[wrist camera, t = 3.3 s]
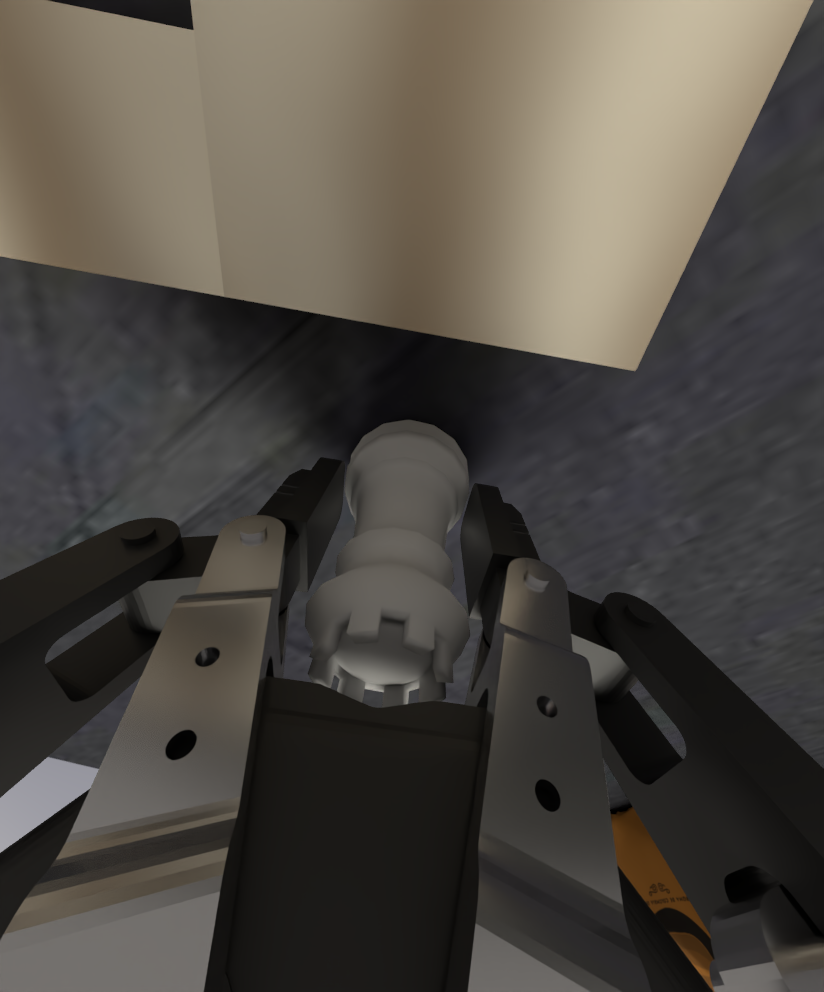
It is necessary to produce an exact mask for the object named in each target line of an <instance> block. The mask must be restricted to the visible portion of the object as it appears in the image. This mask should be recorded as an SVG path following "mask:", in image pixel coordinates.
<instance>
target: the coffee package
mask: <svg viewBox="0 0 824 992" xmlns="http://www.w3.org/2000/svg"><path fill="white" fill-rule="evenodd" d="M611 821H612V829H613V836H614V844H615V851H616V858H617V865H618V866H619V868H620V869H621V870H622V872H623V873H624V874H625V876H626V877H627V878H628V879H629V881H630V882H631V883H632V885H633V886H634V887H635V889H636V890H637V891H638V893H639V894H640V895H641V897H642V898H643V899H644V901H645V902H646V903H647V905H648V906H649V907H650V909H651V910H652V911H653V913H654V914H655V915H656V916H657V918H658V919H659V920H660V922H661V923H662V924H663V926H664V927H665V928H666V930H667V931H668V932H669V934H670V935H671V936H672V938H673V939H674V940H675V942H676V943H677V944H678V946H679V947H680V948H681V950H682V951H683V952H684V954H685V955H686V956H687V957H688V959H689V960H690V961H691V963H692V964H693V965H694V967H695V968H696V969H697V971H698V972H699V973H700V975H701V976H702V977H703V979H704V980H705V981H706V983H707V984H708V985H709V987H710V988H711V989H712V991H713V992H715V991H714V989H713V986H712V983H711V979H710V972H709V968H710V963H711V962H712V960H714V959H715V958H714V954H713V950H712V945H711V937H710V934H709V932H708V931H707V929H706V927H705V926H704V924H703V922H702V921H701V919H700V917H699V916H698V914H697V912H696V911H695V909H694V907H693V906H692V904H691V903H690V901H689V899H688V898H687V896H686V894H685V893H684V891H683V889H682V888H681V886H680V884H679V883H678V881H677V879H676V878H675V876H674V874H673V873H672V871H671V869H670V868H669V866H668V864H667V863H666V861H665V859H664V858H663V856H662V854H661V853H660V851H659V850H658V848H657V846H656V845H655V843H654V841H653V840H652V838H651V836H650V835H649V833H648V831H647V830H646V828H645V826H644V825H643V823H642V821H641V820H640V818H639V816H638V815H637V813H636V811H635V810H634V808H633V806H632V807H631V808H629V809H628V810H627V811H622V812H619V811H617V812H616V814H611Z"/></svg>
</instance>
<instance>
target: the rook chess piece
mask: <svg viewBox="0 0 824 992" xmlns="http://www.w3.org/2000/svg"><path fill="white" fill-rule="evenodd" d="M468 483H469V476H468V467H467V459H466V458H465V456H464V454H463V453H462V451H461V449H460V448H459V446H458V444H457V443H456V441H455V440H454V439H453V438H452V437H450V436H449V435H447V434H446V433H445V432H443V431H442V430H440V429H439V428H437V427H436V426H435V425H431V424H427V423H422V422H418V421H414V420H402V421H396V422H390V423H384V424H382V425H381V426H379V427H377V428H376V429H374V430H373V431H371V432H369V433H368V434H366V435H365V436H363V438H362V439H361V441H360V442H359V444H358V445H357V447H356V448H355V450H354V451H353V453H352V454H351V459H350V463H349V465H348V466H347V473H346V481H345V495H346V498H347V501H348V504H349V507H350V510H351V513H352V514H353V516H354V519H355V522H356V524H355V533H354V537H353V539H351V540H349V541H348V543H347V544H346V545H345V547H344V548H343V549H342V551H341V552H340V553H339V555H338V557H337V564H336V572H335V573H336V576H337V577H336V578H334V579H332V580H330V581H328V582H326V583H323V584H322V585H321V586H320V587H319V588H318V590H317V591H316V592H315V594H314V595H313V596H312V597H311V599H310V600H309V601H308V603H307V604H306V618H305V627H306V629H307V631H308V633H309V636H310V638H311V640H312V642H313V648H312V651H311V654H310V656H309V657H312V658H313V660H312V663H311V666H310V669H309V672H308V675H309V677H310V678H311V680H312V682H313V683H317V684H321V685H324V686H326V687H328V688H329V687H331V684H332V681H333V677H334V674H335V675H336V676H337V677H338V678H339V679H340V681H339V685H338V689H337V692H339V693H341V694H344V695H346V696H348V697H350V698H352V699H355V700H357V701H359V702H361V703H362V700H363V695H364V689H369V690H374V691H380V692H384V694H383V702H382V708H383V707H390V706H397V705H405V704H408V696H409V691H411V690H414V689H418V688H419V702H427V701H442V700H444V699H445V698H446V688H445V682H447V683H453V666H452V664H453V663H454V662H455V661H456V660H457V659H458V657H459V656H460V655H461V653H462V651H463V649H464V647H465V645H466V643H467V641H468V639H469V637H470V630H469V623H468V616H467V612H466V611H465V610H464V608H463V607H462V606H461V604H460V603H459V602H458V601H457V599H456V598H455V597H454V596H453V594H452V593H451V592H450V589H451V586H452V584H453V581H454V574H453V568H452V561H451V560H450V559H449V557H448V556H447V555H446V553H445V552H444V549H445V543H446V537H447V533H448V532H449V530H450V529H451V528H452V527H453V525H454V524H455V523H456V522H457V521H458V520H459V519H460V518H461V515H462V512H463V510H464V507H465V504H466V501H467V498H468V495H469V485H468Z"/></svg>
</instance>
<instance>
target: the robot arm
mask: <svg viewBox="0 0 824 992" xmlns="http://www.w3.org/2000/svg"><path fill="white" fill-rule="evenodd" d="M344 473H345V463H344V461H341V460H335V459H329V458H323V457H321V458H320V459H319V460H318V461H317V463H316V464H315V466H314V467H313V468H312V470H305V469H301V470H299V471H297V472H295V473H293V474H291V475H289V477H288V478H287V479H286V480H285V481H284V483H283V484H282V486H280V487H279V488H278V490H277V491H276V493H274V494H273V496H272V497H271V498H270V499H269V500H268V502H267V503H266V504H265V505H264V506H263V508H262V509H261V510H260V511H259V512H258V514H257V515H251V516H245V517H241V518H238V519H236V520H233V521H231V522H230V523H228V524H227V525H226V526H224V527H223V529H222V530H221V532H220V534H219V535H217V536H202V537H183V538H181V534H180V530H179V527H178V525H177V524H176V523H174V522H172V521H170V520H167V519H162V518H144V519H137V520H133V521H129V522H126V523H123V524H120V525H118V526H115V527H113V528H111V529H109V530H107V531H105V532H102V533H100V534H98V535H96V536H94V537H92V538H90V539H87V540H85V541H83V542H81V543H79V544H77V545H74V546H72V547H70V548H68V549H66V550H64V551H62V552H59V553H57V554H55V555H53V556H51V557H49V558H47V559H44V560H42V561H40V562H38V563H36V564H34V565H32V566H29V567H27V568H25V569H23V570H21V571H19V572H17V573H14V574H12V575H10V576H8V577H6V578H4V579H1V580H0V797H1V796H3V795H4V794H5V793H6V792H7V791H8V790H9V789H11V788H12V787H13V786H14V785H15V784H17V783H18V782H19V781H20V780H21V779H22V778H24V777H25V776H26V775H27V774H28V773H29V772H31V770H33V769H34V768H35V767H36V766H37V765H39V764H40V763H41V762H42V761H43V760H44V759H46V758H47V757H48V756H49V755H50V754H51V753H53V752H54V751H55V750H56V749H57V748H58V747H60V746H61V745H62V744H63V743H64V742H65V741H66V740H68V739H69V738H70V737H71V736H72V735H73V734H75V733H76V732H77V731H78V730H79V729H80V728H82V727H83V726H84V725H85V724H86V723H87V722H88V721H90V720H91V719H92V718H93V717H94V716H95V715H97V714H98V713H99V712H100V711H101V710H102V709H104V708H105V707H106V706H107V705H108V704H109V703H111V702H112V701H113V700H114V699H115V698H116V697H117V696H119V695H120V694H121V693H122V692H123V691H124V690H126V689H127V688H128V687H129V686H130V685H131V684H133V683H134V682H135V681H136V680H137V679H138V678H139V677H141V678H140V680H139V683H138V685H137V687H136V689H135V691H134V694H133V696H132V698H131V700H130V702H129V705H128V707H127V709H126V711H125V713H124V716H123V718H122V720H121V722H120V724H119V727H118V729H117V731H116V733H115V735H114V738H113V740H112V742H111V744H110V746H109V749H108V751H107V753H106V755H105V757H104V760H103V762H102V764H101V766H100V768H99V771H98V773H97V775H96V777H95V779H94V782H93V784H92V786H91V788H90V789H89V790H88V791H86V792H85V793H83V794H82V795H81V796H79V797H78V798H77V799H75V800H74V801H72V802H71V803H69V804H68V805H67V806H65V807H64V808H62V809H61V810H60V811H58V812H57V813H55V814H54V815H53V816H51V817H50V818H49V819H47V820H46V821H44V822H43V823H41V824H40V825H39V826H37V827H36V828H34V829H33V830H32V831H30V832H29V833H27V834H26V835H25V836H23V837H22V838H21V839H19V840H18V841H16V842H15V843H14V844H12V845H11V846H9V847H8V848H7V849H5V850H4V851H3V852H1V853H0V992H713V991H712V989H711V988H710V987H709V985H708V984H707V983H706V981H705V980H704V979H703V977H702V976H701V975H700V973H699V972H698V971H697V969H696V968H695V967H694V965H693V964H692V963H691V961H690V960H689V959H688V957H687V956H686V955H685V954H684V952H683V951H682V950H681V948H680V947H679V946H678V944H677V943H676V942H675V940H674V939H673V938H672V936H671V935H670V934H669V932H668V931H667V930H666V928H665V927H664V926H663V924H662V923H661V922H660V920H659V919H658V918H657V916H656V915H655V914H654V913H653V911H652V910H651V909H650V907H649V906H648V905H647V903H646V902H645V901H644V899H643V898H642V897H641V895H640V894H639V893H638V891H637V890H636V889H635V887H634V886H633V885H632V883H631V882H630V881H629V879H628V878H627V877H626V876H625V874H624V873H623V872H622V870H621V869H620V868H619V866H618V865H617V858H616V851H615V844H614V836H613V829H612V821H611V814H610V807H609V799H608V792H607V784H606V777H605V770H604V762H603V758H604V760H605V762H606V763H607V765H608V767H609V768H610V770H611V772H612V773H613V775H614V777H615V778H616V780H617V782H618V783H619V785H620V787H621V788H622V790H623V792H624V793H625V795H626V797H627V798H628V800H629V802H630V803H631V805H632V806H633V808H634V810H635V811H636V813H637V815H638V816H639V818H640V820H641V821H642V823H643V825H644V826H645V828H646V830H647V831H648V833H649V835H650V836H651V838H652V840H653V841H654V843H655V845H656V846H657V848H658V850H659V851H660V853H661V854H662V856H663V858H664V859H665V861H666V863H667V864H668V866H669V868H670V869H671V871H672V873H673V874H674V876H675V878H676V879H677V881H678V883H679V884H680V886H681V888H682V889H683V891H684V893H685V894H686V896H687V898H688V899H689V901H690V903H691V904H692V906H693V907H694V909H695V911H696V912H697V914H698V916H699V917H700V919H701V921H702V922H703V924H704V926H705V927H706V929H707V931H708V932H709V934H710V937H711V945H712V950H713V954H714V958H715V959H714V960H712V962H711V963H710V968H709V972H710V979H711V983H712V986H713V989H714V991H715V992H824V769H823V768H822V767H821V766H820V765H819V764H818V763H817V762H816V761H815V760H814V759H813V758H812V757H811V756H810V755H809V754H807V753H806V752H805V751H804V750H803V749H802V748H801V747H800V746H799V745H798V744H797V743H796V742H795V741H794V740H793V739H792V738H791V737H790V736H789V735H788V734H787V733H786V732H785V731H783V730H782V729H781V728H780V727H779V726H778V725H777V724H776V723H775V722H774V721H773V720H772V719H771V718H770V717H769V716H768V715H767V714H766V713H765V712H764V711H763V710H762V709H761V708H759V707H758V706H757V705H756V704H755V703H754V702H753V701H752V700H751V699H750V698H749V697H748V696H747V695H746V694H745V693H744V692H743V691H742V690H741V689H740V688H739V687H738V686H737V685H735V684H734V683H733V682H732V681H731V680H730V679H729V678H728V677H727V676H726V675H725V674H724V673H723V672H722V671H721V670H720V669H719V668H718V667H717V666H716V665H715V664H714V663H713V662H712V661H710V660H709V659H708V658H707V657H706V656H705V655H704V654H703V653H702V652H701V651H700V650H699V649H698V648H697V647H696V646H695V645H694V644H693V643H692V642H691V641H690V640H689V639H688V638H686V637H685V636H684V635H683V634H682V633H681V632H680V631H679V630H678V629H677V628H676V627H675V626H674V625H673V624H672V623H671V622H670V621H669V620H668V619H667V618H666V617H665V616H664V615H662V614H661V613H660V612H659V611H658V610H657V609H656V608H654V607H653V606H652V605H650V604H648V603H647V602H645V601H643V600H642V599H640V598H637V597H635V596H632V595H630V594H626V593H620V592H614V593H610V594H608V595H607V596H606V597H605V599H604V600H603V602H602V603H601V604H599V603H597V602H594V601H592V600H589V599H587V598H584V597H581V596H579V595H576V594H574V593H572V592H570V591H568V590H567V584H566V582H565V580H564V579H563V577H562V576H561V575H560V574H559V573H558V572H557V571H556V570H555V569H554V568H552V567H551V566H549V565H548V564H546V563H544V562H541V561H540V558H539V556H538V554H537V551H536V549H535V546H534V544H533V542H532V539H531V537H530V535H528V533H529V532H528V530H527V527H526V526H525V522H524V520H523V518H522V515H521V513H520V512H519V511H518V510H517V509H516V508H515V507H514V506H513V505H512V504H508V503H503V500H502V497H501V494H500V491H499V489H498V487H495V486H489V485H483V484H477V483H475V484H474V485H473V488H472V491H471V494H470V498H469V501H468V504H467V508H466V511H465V515H464V518H463V522H462V526H461V534H460V541H461V550H462V559H463V567H464V576H465V585H466V594H467V603H468V611H469V618H473V619H480V620H482V624H483V629H482V631H481V634H480V636H479V639H478V644H477V649H476V653H475V658H474V663H473V668H472V673H471V677H470V682H469V687H468V692H467V697H466V701H465V705H461V704H455V703H448V702H441V701H427V702H419V703H412V704H405V705H397V706H390V707H383V708H374V707H371V706H368V705H366V704H364V703H361V702H359V701H357V700H355V699H352V698H350V697H348V696H346V695H344V694H341V693H339V692H337V691H335V690H332V689H330V688H328V687H326V686H324V685H321V684H317V683H311V682H304V681H297V680H290V679H283V674H284V662H285V652H286V641H287V630H288V619H289V602H290V600H291V598H292V596H293V594H294V592H295V591H302V592H308V590H309V588H310V586H311V583H312V581H313V579H314V576H315V574H316V572H317V569H318V567H319V565H320V563H321V560H322V558H323V556H324V553H325V551H326V549H327V546H328V544H329V542H330V540H331V537H332V535H333V533H334V530H335V528H336V526H337V523H338V521H339V519H340V515H341V511H342V505H343V490H344ZM116 601H119V603H120V605H121V608H122V610H123V612H122V613H121V614H119V615H118V616H117V617H115V618H114V619H112V620H111V621H109V622H108V623H106V624H105V625H103V626H102V627H100V628H99V629H97V630H96V631H94V632H93V633H91V634H90V635H88V636H87V637H85V638H84V639H82V640H81V641H79V642H78V643H77V644H75V645H74V646H72V647H71V648H69V649H68V650H66V651H65V652H63V653H62V654H60V655H59V656H57V657H56V658H54V659H53V660H51V661H50V662H48V663H47V664H45V657H46V654H47V652H48V650H49V649H50V648H51V646H52V645H53V644H54V643H55V642H56V641H57V640H58V639H59V638H60V637H62V636H63V635H65V634H66V633H68V632H69V631H71V630H72V629H74V628H76V627H77V626H79V625H80V624H82V623H83V622H85V621H86V620H88V619H90V618H91V617H93V616H94V615H96V614H97V613H99V612H101V611H102V610H104V609H105V608H107V607H108V606H110V605H111V604H113V603H115V602H116ZM638 680H639V681H640V682H641V683H642V685H643V686H644V687H645V688H646V690H647V691H648V692H649V693H650V695H651V696H652V697H653V698H654V700H655V701H656V702H657V703H658V704H659V706H660V707H661V708H662V709H663V711H664V712H665V713H666V714H667V716H668V717H669V718H670V719H671V720H672V722H673V723H674V724H675V725H676V727H677V728H678V729H679V731H680V733H681V734H682V736H683V738H684V741H685V744H686V751H687V752H686V756H685V758H684V759H682V758H681V757H680V756H679V754H678V753H677V752H676V751H675V749H674V748H673V747H672V745H671V744H670V743H669V741H668V740H667V739H666V738H665V736H664V735H663V734H662V732H661V731H660V730H659V728H658V727H657V726H656V725H655V723H654V722H653V721H652V719H651V718H650V717H649V715H648V714H647V713H646V712H645V710H644V709H643V708H642V706H641V705H640V704H639V702H638V701H637V700H636V699H635V697H634V696H633V695H632V693H631V692H630V691H629V690H630V689H631V688H632V687H633V686H634V685H635V684H636V682H637V681H638Z"/></svg>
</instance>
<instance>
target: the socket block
mask: <svg viewBox="0 0 824 992" xmlns="http://www.w3.org/2000/svg"><path fill="white" fill-rule="evenodd" d="M190 2H191V10H192V19H193V28H194V30H189V29H184V28H180V27H175V26H170V25H165V24H160V23H155V22H150V21H145V20H140V19H136V18H131V17H126V16H121V15H116V14H111V13H106V12H101V11H97V10H92V9H87V8H82V7H77V6H72V5H67V4H62V3H58V2H53V1H48V0H0V256H2V257H7V258H13V259H18V260H24V261H29V262H35V263H40V264H46V265H51V266H57V267H63V268H68V269H74V270H79V271H85V272H90V273H96V274H101V275H107V276H112V277H118V278H123V279H129V280H134V281H140V282H145V283H151V284H157V285H162V286H168V287H173V288H179V289H184V290H190V291H195V292H201V293H206V294H212V295H217V296H223V297H228V298H234V299H239V300H245V301H250V302H256V303H262V304H267V305H273V306H278V307H284V308H289V309H295V310H300V311H306V312H311V313H317V314H322V315H328V316H333V317H339V318H344V319H350V320H356V321H361V322H367V323H372V324H378V325H383V326H389V327H394V328H400V329H405V330H411V331H416V332H422V333H427V334H433V335H438V336H444V337H450V338H455V339H461V340H466V341H472V342H477V343H483V344H488V345H494V346H499V347H505V348H510V349H516V350H521V351H527V352H532V353H538V354H543V355H549V356H555V357H560V358H566V359H571V360H577V361H582V362H588V363H593V364H599V365H604V366H610V367H615V368H621V369H626V370H632V371H636V369H637V367H638V365H639V363H640V361H641V359H642V356H643V354H644V352H645V350H646V348H647V346H648V344H649V342H650V340H651V338H652V336H653V333H654V331H655V329H656V327H657V325H658V323H659V321H660V319H661V317H662V315H663V313H664V311H665V308H666V306H667V304H668V302H669V300H670V298H671V296H672V294H673V292H674V290H675V288H676V286H677V283H678V281H679V279H680V277H681V275H682V273H683V271H684V269H685V267H686V265H687V263H688V261H689V258H690V256H691V254H692V252H693V250H694V248H695V246H696V244H697V242H698V240H699V238H700V235H701V233H702V231H703V229H704V227H705V225H706V223H707V221H708V219H709V217H710V215H711V213H712V210H713V208H714V206H715V204H716V202H717V200H718V198H719V196H720V194H721V192H722V190H723V188H724V185H725V183H726V181H727V179H728V177H729V175H730V173H731V171H732V169H733V167H734V165H735V163H736V160H737V158H738V156H739V154H740V152H741V150H742V148H743V146H744V144H745V142H746V140H747V138H748V135H749V133H750V131H751V129H752V127H753V125H754V123H755V121H756V119H757V117H758V115H759V112H760V110H761V108H762V106H763V104H764V102H765V100H766V98H767V96H768V94H769V92H770V90H771V87H772V85H773V83H774V81H775V79H776V77H777V75H778V73H779V71H780V69H781V67H782V65H783V62H784V60H785V58H786V56H787V54H788V52H789V50H790V48H791V46H792V44H793V42H794V40H795V37H796V35H797V33H798V31H799V29H800V27H801V25H802V23H803V21H804V19H805V17H806V14H807V12H808V10H809V8H810V6H811V4H812V2H813V0H190Z"/></svg>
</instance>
